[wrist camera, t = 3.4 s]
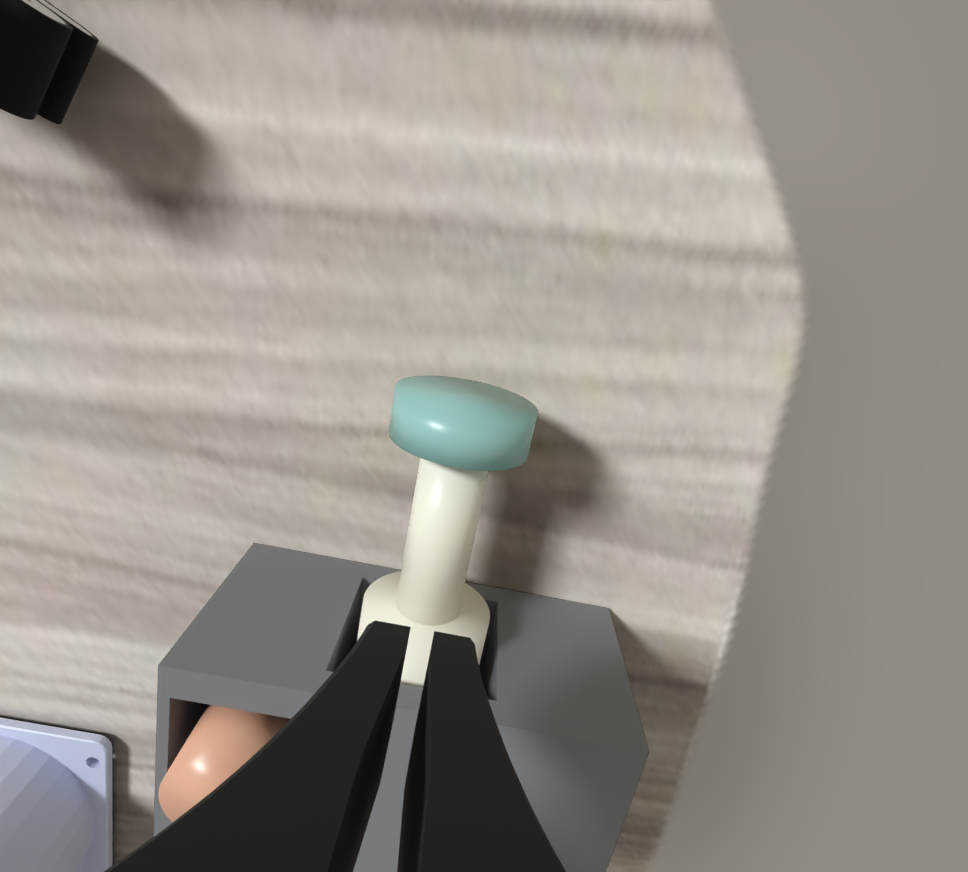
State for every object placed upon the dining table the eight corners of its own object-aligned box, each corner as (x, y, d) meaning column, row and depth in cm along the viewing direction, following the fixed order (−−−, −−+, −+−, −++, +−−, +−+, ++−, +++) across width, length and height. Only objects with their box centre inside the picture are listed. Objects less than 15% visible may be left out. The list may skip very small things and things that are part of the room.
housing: (554, 786, 23) (572, 965, 18) (238, 731, 23) (151, 897, 17) (608, 608, 21) (649, 751, 15) (253, 542, 20) (157, 665, 15)
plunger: (298, 741, 18) (257, 846, 15) (215, 727, 18) (157, 830, 15) (306, 674, 17) (265, 771, 14) (220, 659, 17) (159, 753, 14)
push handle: (446, 775, 22) (436, 877, 18) (345, 758, 22) (316, 857, 18) (534, 392, 17) (542, 433, 14) (406, 367, 17) (383, 403, 14)
